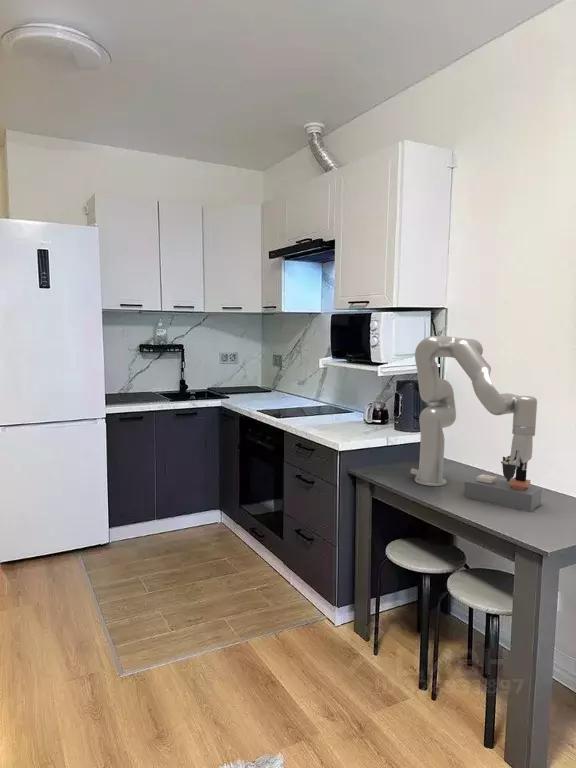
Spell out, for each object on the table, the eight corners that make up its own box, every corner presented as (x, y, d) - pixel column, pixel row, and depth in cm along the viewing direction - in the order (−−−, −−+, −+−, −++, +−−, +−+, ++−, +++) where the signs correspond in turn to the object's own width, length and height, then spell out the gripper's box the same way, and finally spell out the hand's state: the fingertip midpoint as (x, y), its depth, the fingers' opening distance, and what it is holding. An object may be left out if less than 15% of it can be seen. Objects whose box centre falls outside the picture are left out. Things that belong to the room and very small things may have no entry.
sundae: (518, 490, 212) (521, 453, 210) (500, 489, 213) (503, 452, 212) (515, 485, 218) (517, 449, 217) (497, 484, 219) (500, 448, 218)
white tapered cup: (475, 496, 202) (476, 476, 201) (481, 493, 206) (482, 474, 206) (490, 499, 199) (491, 479, 198) (495, 496, 203) (496, 476, 202)
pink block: (508, 500, 194) (509, 480, 194) (513, 496, 199) (514, 477, 198) (524, 503, 191) (525, 483, 190) (529, 500, 195) (530, 480, 194)
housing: (463, 496, 202) (464, 481, 201) (476, 490, 211) (477, 475, 210) (530, 511, 186) (531, 495, 186) (540, 503, 195) (541, 488, 195)
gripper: (519, 426, 200) (516, 474, 202) (505, 431, 189) (502, 482, 190) (540, 429, 195) (537, 478, 197) (528, 434, 184) (524, 486, 186)
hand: (520, 480), depth 194 cm, fingers closed
